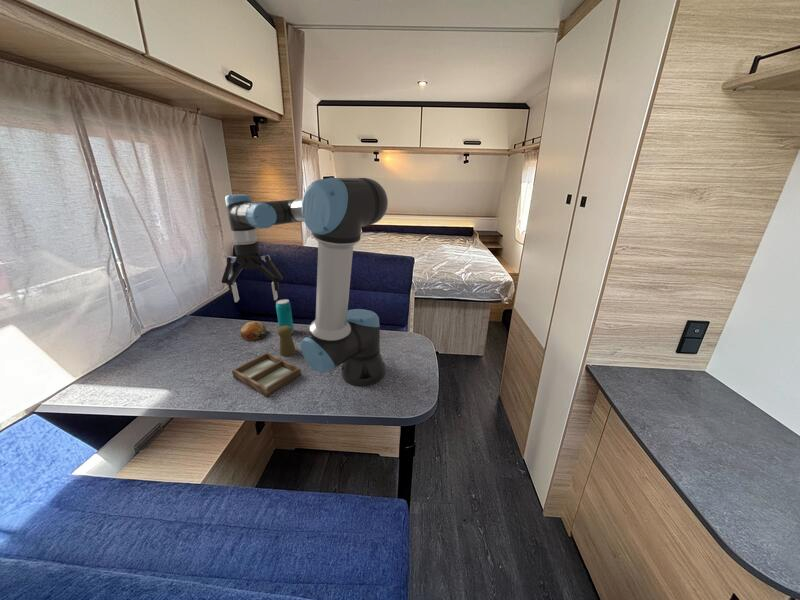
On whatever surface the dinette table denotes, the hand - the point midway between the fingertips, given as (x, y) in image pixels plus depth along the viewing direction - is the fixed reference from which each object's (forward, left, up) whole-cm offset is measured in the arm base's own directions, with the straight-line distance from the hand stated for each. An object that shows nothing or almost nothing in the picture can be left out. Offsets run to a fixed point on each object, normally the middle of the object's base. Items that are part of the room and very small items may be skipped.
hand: (256, 299), depth 115 cm
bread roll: (+15, -5, -22) cm, 27 cm away
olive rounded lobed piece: (-8, -4, -22) cm, 24 cm away
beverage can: (+5, -14, -22) cm, 26 cm away
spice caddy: (-15, +10, -22) cm, 28 cm away
